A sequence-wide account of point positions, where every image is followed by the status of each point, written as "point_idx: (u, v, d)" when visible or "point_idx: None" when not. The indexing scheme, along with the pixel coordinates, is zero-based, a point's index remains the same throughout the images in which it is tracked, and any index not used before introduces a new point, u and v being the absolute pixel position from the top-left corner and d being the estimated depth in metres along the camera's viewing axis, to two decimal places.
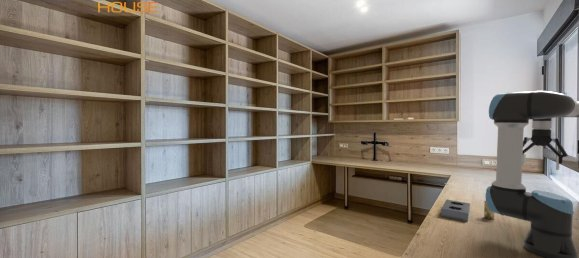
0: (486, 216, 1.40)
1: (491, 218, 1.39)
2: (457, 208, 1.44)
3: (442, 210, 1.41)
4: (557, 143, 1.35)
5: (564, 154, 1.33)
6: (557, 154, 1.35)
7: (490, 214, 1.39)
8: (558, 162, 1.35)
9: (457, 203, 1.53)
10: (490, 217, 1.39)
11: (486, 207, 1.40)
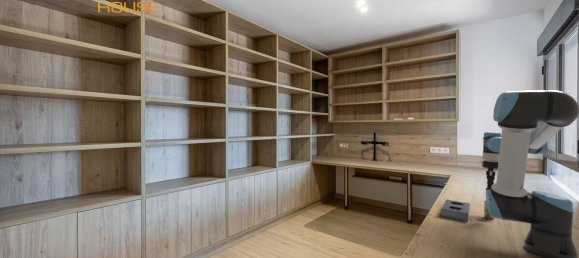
0: (486, 216, 1.40)
1: (491, 218, 1.39)
2: (457, 208, 1.44)
3: (442, 210, 1.41)
4: (487, 176, 1.36)
5: (487, 187, 1.34)
6: (487, 186, 1.36)
7: None
8: None
9: (457, 203, 1.53)
10: (490, 217, 1.39)
11: (486, 207, 1.40)
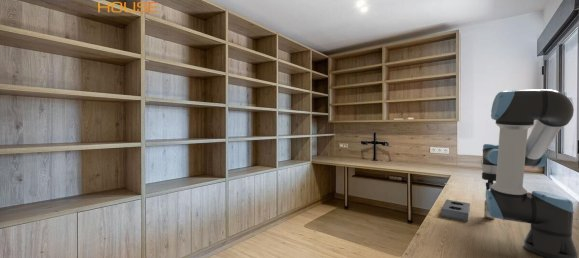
0: None
1: (491, 218, 1.38)
2: (457, 208, 1.44)
3: (442, 210, 1.41)
4: None
5: None
6: None
7: None
8: (487, 209, 1.39)
9: (457, 203, 1.53)
10: (490, 217, 1.38)
11: None
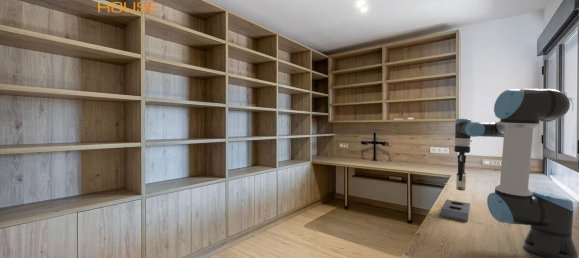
0: (458, 187, 1.49)
1: (462, 189, 1.48)
2: (457, 208, 1.44)
3: (442, 210, 1.41)
4: (458, 161, 1.46)
5: None
6: None
7: None
8: (458, 179, 1.49)
9: (457, 203, 1.53)
10: (461, 188, 1.48)
11: None
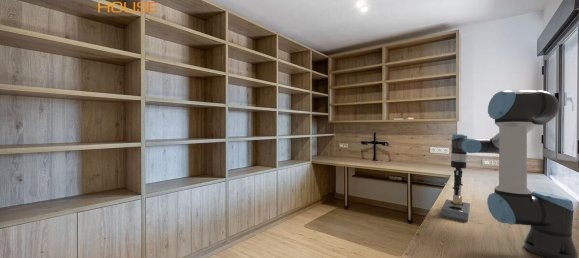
0: None
1: None
2: (457, 208, 1.44)
3: (442, 210, 1.41)
4: (454, 175, 1.46)
5: None
6: (454, 185, 1.47)
7: None
8: (454, 193, 1.47)
9: None
10: None
11: (454, 201, 1.50)
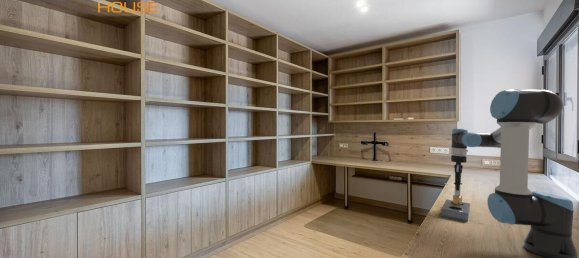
0: None
1: None
2: (457, 208, 1.44)
3: (442, 210, 1.41)
4: (455, 172, 1.48)
5: None
6: None
7: None
8: (455, 188, 1.51)
9: None
10: None
11: (454, 201, 1.50)
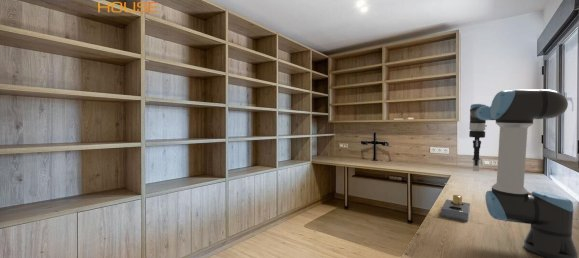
0: None
1: None
2: (457, 208, 1.44)
3: (442, 210, 1.41)
4: (474, 146, 1.48)
5: None
6: None
7: None
8: (474, 164, 1.51)
9: None
10: None
11: (454, 201, 1.50)
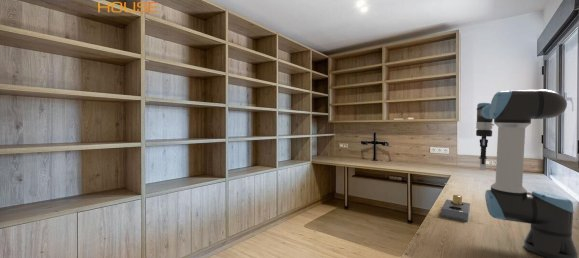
0: None
1: None
2: (457, 208, 1.44)
3: (442, 210, 1.41)
4: (480, 145, 1.48)
5: (480, 155, 1.50)
6: (480, 155, 1.51)
7: None
8: (480, 163, 1.52)
9: None
10: None
11: (454, 201, 1.50)
